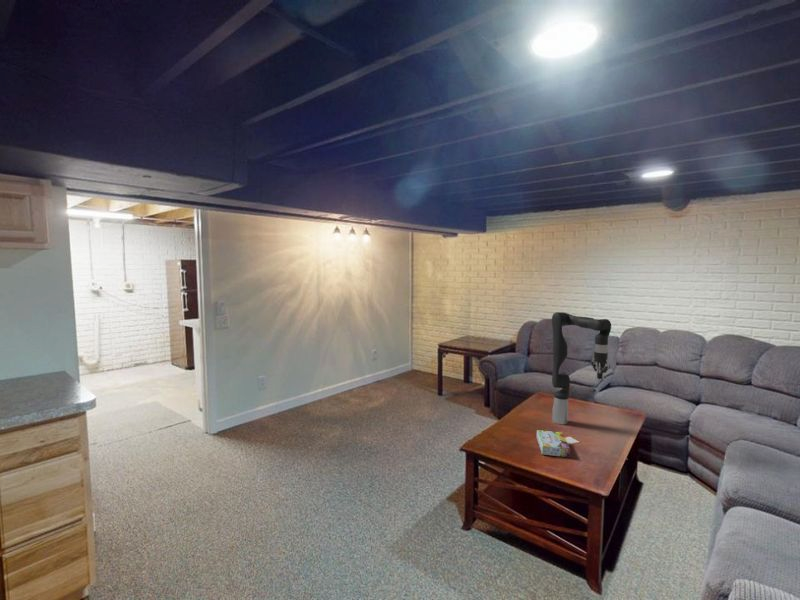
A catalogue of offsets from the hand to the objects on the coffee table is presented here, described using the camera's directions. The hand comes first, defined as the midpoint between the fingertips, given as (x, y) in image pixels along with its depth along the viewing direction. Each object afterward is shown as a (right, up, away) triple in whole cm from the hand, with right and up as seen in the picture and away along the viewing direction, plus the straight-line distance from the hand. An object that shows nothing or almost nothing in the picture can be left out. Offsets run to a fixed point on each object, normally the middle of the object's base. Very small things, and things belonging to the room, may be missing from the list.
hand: (599, 378), depth 247 cm
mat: (-28, -37, -7) cm, 47 cm away
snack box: (-27, -35, -16) cm, 47 cm away
